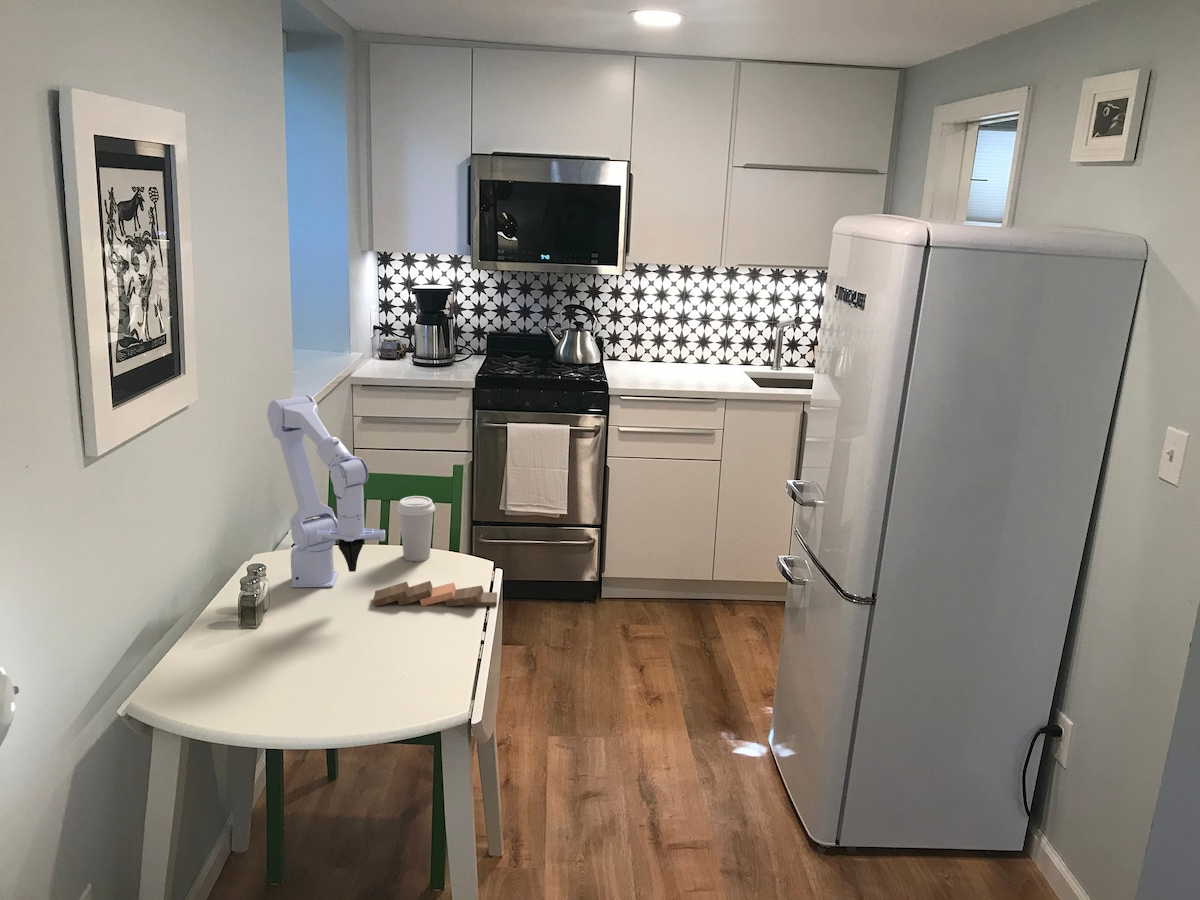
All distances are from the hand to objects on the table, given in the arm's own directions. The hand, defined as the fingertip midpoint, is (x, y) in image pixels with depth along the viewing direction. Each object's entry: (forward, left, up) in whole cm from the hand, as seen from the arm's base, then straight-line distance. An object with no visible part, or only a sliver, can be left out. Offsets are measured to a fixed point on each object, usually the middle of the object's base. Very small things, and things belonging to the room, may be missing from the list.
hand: (352, 569), depth 210 cm
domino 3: (+15, 0, -7) cm, 17 cm away
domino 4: (+21, -1, -7) cm, 23 cm away
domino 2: (+10, 0, -7) cm, 12 cm away
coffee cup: (+12, +26, -8) cm, 30 cm away
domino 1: (+5, 0, -7) cm, 9 cm away
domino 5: (+25, 0, -8) cm, 26 cm away
